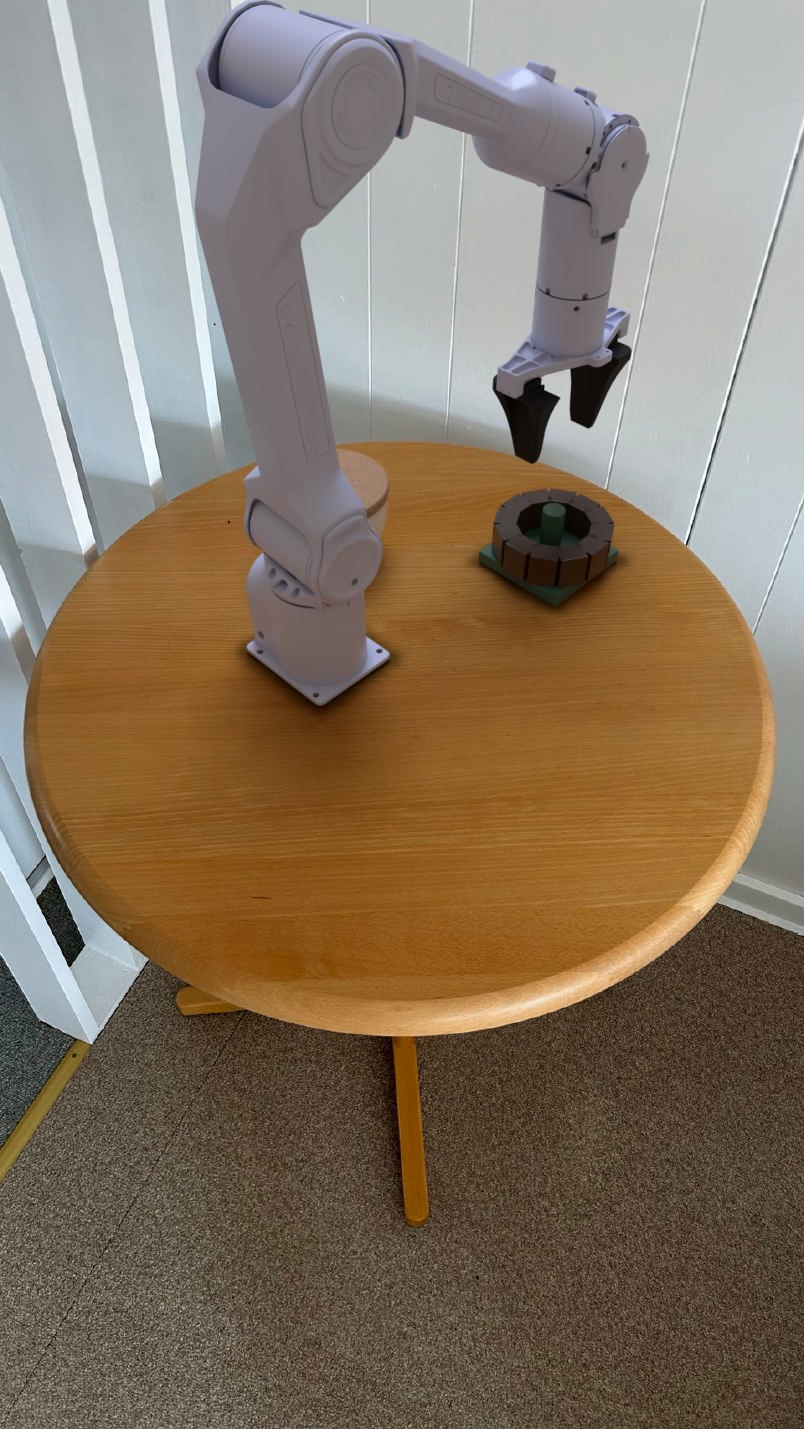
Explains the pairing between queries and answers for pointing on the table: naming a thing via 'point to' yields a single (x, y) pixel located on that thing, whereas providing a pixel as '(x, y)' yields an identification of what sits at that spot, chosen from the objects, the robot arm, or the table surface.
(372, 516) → the trinket box
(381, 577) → the table surface
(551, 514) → the peg stand
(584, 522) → the ring
